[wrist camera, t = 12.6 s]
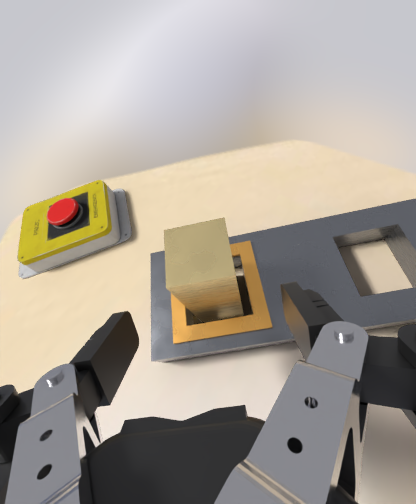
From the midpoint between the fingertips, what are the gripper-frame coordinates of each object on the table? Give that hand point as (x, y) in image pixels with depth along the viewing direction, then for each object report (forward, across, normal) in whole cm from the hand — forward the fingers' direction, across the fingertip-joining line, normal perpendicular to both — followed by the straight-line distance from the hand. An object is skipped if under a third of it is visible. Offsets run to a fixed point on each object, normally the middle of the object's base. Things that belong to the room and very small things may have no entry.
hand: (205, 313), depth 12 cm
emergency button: (+19, +18, -4) cm, 26 cm away
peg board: (+10, -7, +4) cm, 13 cm away
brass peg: (+10, 0, +4) cm, 11 cm away
